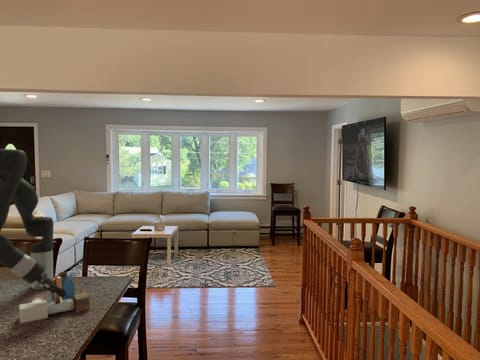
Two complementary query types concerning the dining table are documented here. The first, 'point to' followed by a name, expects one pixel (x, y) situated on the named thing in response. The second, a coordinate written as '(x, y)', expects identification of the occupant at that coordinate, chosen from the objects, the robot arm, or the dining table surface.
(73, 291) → the perfume bottle
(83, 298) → the socket block
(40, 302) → the pale white block
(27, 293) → the dining table surface
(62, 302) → the grey bar with post
